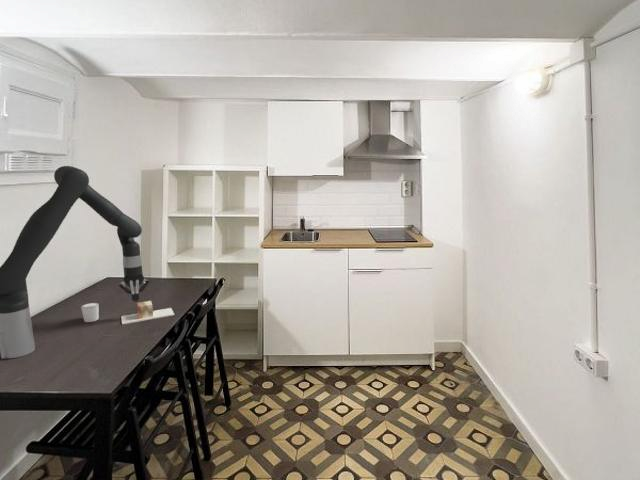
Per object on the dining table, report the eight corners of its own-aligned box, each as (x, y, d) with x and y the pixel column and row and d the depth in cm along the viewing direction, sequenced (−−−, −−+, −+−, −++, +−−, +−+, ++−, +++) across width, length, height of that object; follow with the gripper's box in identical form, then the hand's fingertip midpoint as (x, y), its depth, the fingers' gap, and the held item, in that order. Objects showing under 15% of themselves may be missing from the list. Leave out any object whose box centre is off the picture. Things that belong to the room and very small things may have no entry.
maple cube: (138, 306, 161) (152, 304, 164) (137, 302, 166) (150, 300, 169) (139, 319, 162) (153, 316, 165) (138, 314, 167) (151, 312, 170)
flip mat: (122, 324, 157) (122, 323, 157) (121, 317, 165) (121, 316, 165) (174, 315, 168) (174, 314, 168) (171, 308, 176) (171, 307, 176)
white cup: (94, 322, 159) (92, 308, 158) (79, 322, 159) (77, 307, 158) (103, 316, 166) (101, 302, 165) (89, 316, 166) (87, 302, 165)
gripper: (116, 268, 153) (119, 306, 156) (149, 265, 160) (152, 301, 163) (115, 265, 160) (119, 301, 163) (147, 261, 166) (150, 296, 169)
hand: (135, 301), depth 163 cm, fingers closed
